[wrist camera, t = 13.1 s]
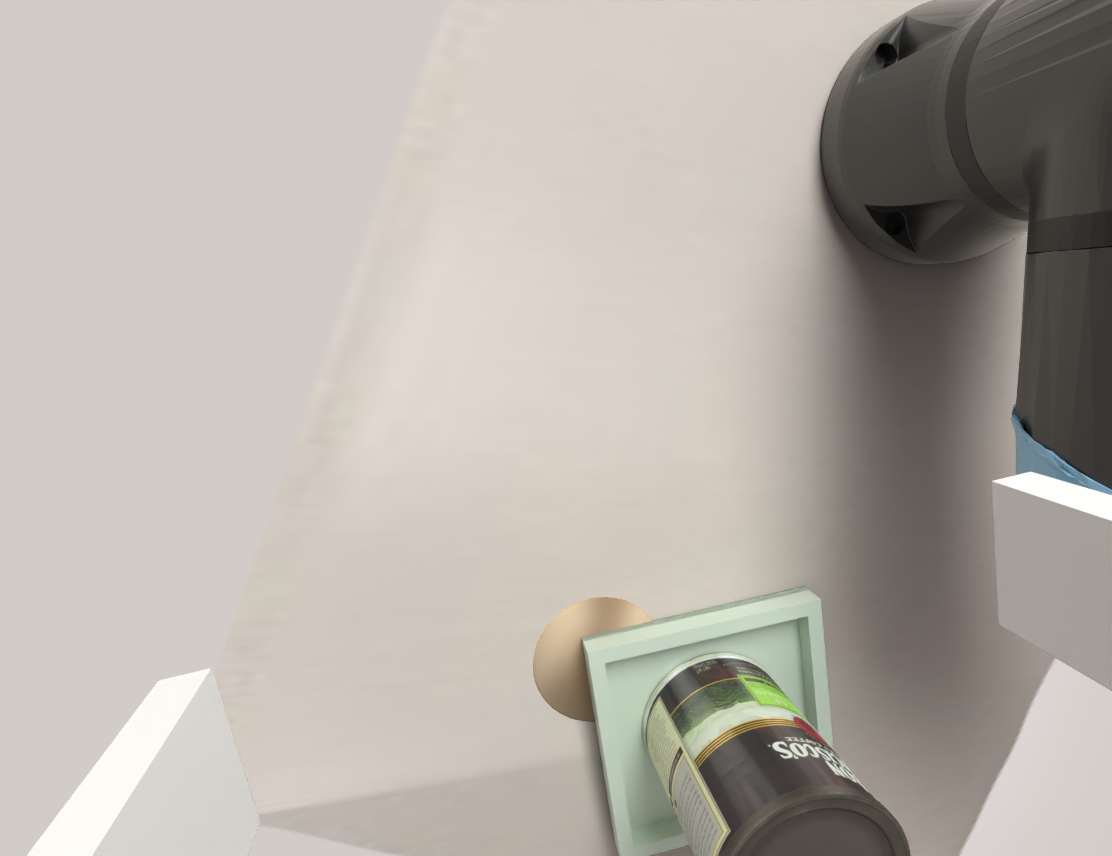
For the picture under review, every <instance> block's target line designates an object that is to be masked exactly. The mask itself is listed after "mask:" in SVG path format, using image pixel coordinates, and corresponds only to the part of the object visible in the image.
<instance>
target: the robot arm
mask: <svg viewBox="0 0 1112 856" xmlns="http://www.w3.org/2000/svg"><path fill="white" fill-rule="evenodd" d="M821 148H822V163H823V170H824V176H825V180H826V184H827V187H828V191H829V194H830V196H831V199H832V201H833V203H834V205H835V207H836V209H837V211H838V213H839V215H840V216H841V218H842V220H843V221H844V222H845V224H846V225H847V227H848V228H849V229H850V230H851V231H852V232H853V234H854V235H855V236H856V237H857V238H858V239H860V240H861V241H862V242H863V243H864V244H865V245H867V246H868V247H869V248H871V249H872V250H874V251H876V252H877V253H879V254H881V255H883V256H885V257H888V258H890V259H893V260H896V261H900V262H904V263H910V264H937V263H950V262H958V261H963V260H967V259H971V258H974V257H977V256H980V255H983V254H985V253H988V252H990V251H992V250H994V249H996V248H998V247H1000V246H1002V245H1004V244H1005V243H1007V242H1009V241H1011V240H1013V239H1015V238H1017V237H1019V236H1020V235H1022V234H1024V233H1026V232H1028V237H1027V252H1026V258H1025V275H1024V293H1023V311H1022V329H1021V347H1020V361H1019V374H1018V386H1017V399H1016V404H1014V406H1013V410H1012V417H1011V420H1012V424H1013V427H1014V429H1015V433H1016V475H1015V476H1010V477H1006V478H1002V479H998V480H994V481H991V482H992V502H993V522H994V542H995V562H996V582H997V602H998V622H999V625H1000V626H1002V627H1004V628H1005V629H1007V630H1009V631H1011V632H1012V633H1014V634H1016V635H1017V636H1019V637H1021V638H1022V639H1024V640H1026V641H1028V642H1029V643H1031V644H1033V645H1034V646H1036V647H1038V648H1040V649H1041V650H1043V651H1045V652H1046V653H1048V654H1050V655H1051V656H1053V657H1055V658H1057V659H1058V660H1060V661H1062V662H1063V663H1065V664H1067V665H1069V666H1070V667H1072V668H1074V669H1075V670H1077V671H1079V672H1081V673H1082V674H1084V675H1086V676H1087V677H1089V678H1091V679H1093V680H1094V681H1096V682H1098V683H1099V684H1101V685H1103V686H1105V687H1106V688H1108V689H1110V690H1111V691H1112V0H933V1H930V2H927V3H924V4H922V5H919V6H917V7H915V8H913V9H911V10H909V11H908V12H906V13H904V14H903V15H901V16H899V17H898V18H896V19H894V20H893V21H891V22H890V23H888V24H886V25H885V26H883V27H882V28H880V29H879V30H878V31H876V32H875V33H874V34H872V35H871V36H870V37H869V38H868V39H867V40H866V41H865V42H864V43H863V44H862V45H861V46H860V47H859V48H858V49H857V50H856V51H855V53H854V54H853V55H852V56H851V58H850V59H849V61H848V62H847V63H846V65H845V67H844V68H843V70H842V71H841V73H840V75H839V77H838V79H837V81H836V83H835V85H834V88H833V90H832V93H831V95H830V98H829V101H828V105H827V108H826V112H825V117H824V122H823V129H822V146H821ZM1108 247H1109V248H1108ZM1068 250H1071V251H1068ZM1055 251H1058V252H1055ZM1044 252H1046V253H1044ZM259 825H260V819H259V816H258V813H257V810H256V807H255V804H254V801H253V797H252V794H251V791H250V788H249V785H248V782H247V778H246V775H245V772H244V769H243V766H242V763H241V760H240V756H239V753H238V750H237V747H236V744H235V741H234V738H233V734H232V731H231V728H230V725H229V722H228V719H227V716H226V712H225V709H224V706H223V703H222V700H221V697H220V694H219V690H218V687H217V684H216V681H215V678H214V675H213V672H212V668H210V669H206V670H201V671H197V672H193V673H189V674H185V675H180V676H177V677H173V678H168V679H164V680H160V681H158V682H157V684H156V685H155V686H154V688H153V689H152V690H151V692H150V693H149V694H148V696H147V697H146V698H145V700H144V701H143V702H142V703H141V705H140V706H139V707H138V709H137V710H136V711H135V713H134V714H133V716H132V717H131V718H130V720H129V721H128V723H126V725H125V726H124V727H123V729H122V730H121V731H120V733H119V734H118V735H117V737H116V738H115V739H114V741H113V742H112V743H111V745H110V746H109V747H108V749H107V750H106V751H105V753H104V754H103V755H102V757H101V758H100V759H99V761H98V762H97V763H96V765H95V766H94V767H93V768H92V770H91V771H90V773H89V774H88V775H87V776H86V778H85V779H84V781H83V782H82V783H81V784H80V786H79V787H78V788H77V790H76V791H75V793H74V794H73V795H72V796H71V798H70V799H69V801H68V802H67V803H66V804H65V806H64V807H63V808H62V810H61V811H60V812H59V814H58V815H57V816H56V818H55V819H54V820H53V822H52V823H51V824H50V826H49V827H48V828H47V830H46V831H45V832H44V834H43V835H42V836H41V838H40V839H39V840H38V841H37V843H36V844H35V846H34V847H33V848H32V850H31V851H30V852H29V854H28V855H27V856H248V855H249V853H250V850H251V847H252V844H253V841H254V839H255V836H256V833H257V830H258V827H259Z"/></svg>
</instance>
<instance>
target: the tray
mask: <svg viewBox="0 0 1112 856" xmlns="http://www.w3.org/2000/svg"><path fill="white" fill-rule="evenodd" d="M581 639H582V645H583V651H584V657H585V663H586V670H587V676H588V682H589V688H590V694H591V700H592V706H593V712H594V719H595V725H596V731H597V737H598V743H599V749H600V755H601V762H602V768H603V774H604V780H605V786H606V792H607V798H608V804H609V811H610V817H611V823H612V829H613V835H614V841H615V844H616V847H617V850H618V853H619V856H650V855H654V854H658V853H662V852H665V851H669V850H673V849H676V848H680V847H684V846H687V845H689V844H688V842H687V839H686V837H685V835H684V832H683V830H682V828H681V826H680V823H679V821H678V819H677V816H676V814H675V812H674V810H673V807H672V805H671V803H670V800H669V798H668V796H667V794H666V791H665V789H664V787H663V785H662V782H661V780H660V778H659V775H658V773H657V771H656V768H655V766H654V764H653V762H652V761H651V759H650V757H649V755H648V753H647V751H646V749H645V746H644V742H643V735H642V722H643V715H644V711H645V708H646V705H647V702H648V700H649V698H650V696H651V694H652V692H653V691H654V689H655V688H656V686H657V685H658V684H659V683H660V681H661V680H662V679H663V678H664V677H665V676H666V675H667V674H668V673H669V672H671V671H672V670H673V669H674V668H676V667H677V666H679V665H680V664H682V663H684V662H686V661H688V660H690V659H692V658H695V657H697V656H700V655H705V654H710V653H734V654H738V655H742V656H745V657H747V658H750V659H752V660H754V661H756V662H757V663H758V664H760V665H761V666H762V667H763V668H764V669H765V670H766V671H768V673H769V674H770V675H771V676H772V678H773V679H774V681H775V682H776V684H777V685H778V686H779V687H780V689H781V690H782V691H783V692H784V693H785V695H786V696H787V697H788V698H789V699H790V700H791V701H792V703H793V704H794V705H795V706H796V708H797V709H798V710H799V711H800V712H801V713H802V715H803V716H804V717H805V718H806V719H807V720H808V722H809V723H810V724H811V725H812V726H813V727H814V728H815V730H816V731H817V732H818V733H819V734H820V736H821V737H822V738H823V739H824V740H825V741H826V742H827V744H828V745H829V746H830V747H831V748H832V749H833V739H832V727H831V715H830V703H829V691H828V679H827V667H826V655H825V643H824V631H823V619H822V607H821V599H820V598H819V597H818V596H816V595H815V594H814V593H813V592H811V591H810V590H809V589H807V588H806V587H805V586H804V587H800V588H796V589H791V590H787V591H782V592H778V593H774V594H769V595H765V596H760V597H756V598H751V599H747V600H743V601H738V602H734V603H729V604H725V605H721V606H716V607H712V608H707V609H703V610H699V611H694V612H690V613H685V614H681V615H677V616H672V617H668V618H663V619H659V620H654V621H650V622H646V623H641V624H637V625H632V626H628V627H624V628H619V629H615V630H610V631H606V632H602V633H597V634H593V635H588V636H584V637H581Z"/></svg>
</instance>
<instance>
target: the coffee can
mask: <svg viewBox="0 0 1112 856" xmlns="http://www.w3.org/2000/svg"><path fill="white" fill-rule="evenodd" d="M642 735H643V742H644V746H645V749H646V751H647V753H648V755H649V757H650V759H651V761H652V762H653V764H654V766H655V768H656V771H657V773H658V775H659V778H660V780H661V782H662V785H663V787H664V789H665V791H666V794H667V796H668V798H669V800H670V803H671V805H672V807H673V810H674V812H675V814H676V816H677V819H678V821H679V823H680V826H681V828H682V830H683V832H684V835H685V837H686V839H687V842H688V844H689V846H690V848H691V851H692V853H693V855H694V856H910V850H909V845H908V842H907V839H906V836H905V833H904V831H903V829H902V827H901V826H900V824H899V823H898V821H897V820H896V819H895V818H894V816H893V815H892V814H891V813H890V812H889V811H888V810H887V809H886V808H885V807H884V806H883V805H882V804H881V803H880V802H878V801H877V800H876V799H875V798H874V797H873V796H872V795H871V794H870V793H869V791H868V790H867V789H866V788H865V787H864V786H863V784H862V783H861V782H860V781H859V780H858V779H857V778H856V776H855V775H854V774H853V773H852V771H851V770H850V769H849V768H848V767H847V765H846V764H845V763H844V762H843V761H842V760H841V759H840V757H839V756H838V755H837V754H836V753H835V752H834V751H833V749H832V748H831V747H830V746H829V745H828V744H827V742H826V741H825V740H824V739H823V738H822V737H821V736H820V734H819V733H818V732H817V731H816V730H815V728H814V727H813V726H812V725H811V724H810V723H809V722H808V720H807V719H806V718H805V717H804V716H803V715H802V713H801V712H800V711H799V710H798V709H797V708H796V706H795V705H794V704H793V703H792V701H791V700H790V699H789V698H788V697H787V696H786V695H785V693H784V692H783V691H782V690H781V689H780V687H779V686H778V685H777V684H776V682H775V681H774V679H773V678H772V676H771V675H770V674H769V673H768V671H766V670H765V669H764V668H763V667H762V666H761V665H760V664H758V663H757V662H756V661H754V660H752V659H750V658H747V657H745V656H742V655H738V654H734V653H710V654H705V655H700V656H697V657H695V658H692V659H690V660H688V661H686V662H684V663H682V664H680V665H679V666H677V667H676V668H674V669H673V670H672V671H671V672H669V673H668V674H667V675H666V676H665V677H664V678H663V679H662V680H661V681H660V683H659V684H658V685H657V686H656V688H655V689H654V691H653V692H652V694H651V696H650V698H649V700H648V702H647V705H646V708H645V711H644V715H643V722H642Z"/></svg>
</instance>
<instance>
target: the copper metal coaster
mask: <svg viewBox="0 0 1112 856" xmlns="http://www.w3.org/2000/svg"><path fill="white" fill-rule="evenodd" d="M650 621H653V620H652V618H651V617H650V616H649V615H648V614H647V613H646V612H645V611H644V610H642V609H641V608H640V607H638V606H636V605H634V604H633V603H630V602H628V601H625V600H621V599H617V598H609V597H602V598H593V599H588V600H584V601H581V602H579V603H576V604H574V605H572V606H570V607H568V608H567V609H565V610H564V611H562V612H561V613H560V614H558V615H557V616H556V617H555V618H554V619H553V620H552V621H551V622H550V623H549V624H548V626H547V627H546V628H545V630H544V631H543V633H542V634H541V636H540V639H539V641H538V643H537V646H536V649H535V654H534V660H533V670H534V677H535V681H536V684H537V687H538V689H539V691H540V693H541V694H542V696H543V698H544V699H545V700H546V701H547V702H548V704H549V705H551V706H552V707H553V708H554V709H555V710H557V711H558V712H560V713H561V714H563V715H566V716H568V717H570V718H573V719H577V720H582V721H595V719H594V712H593V706H592V700H591V694H590V688H589V682H588V676H587V670H586V663H585V657H584V651H583V645H582V639H581V637H584V636H588V635H593V634H597V633H602V632H606V631H610V630H615V629H619V628H624V627H628V626H632V625H637V624H641V623H646V622H650Z"/></svg>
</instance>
